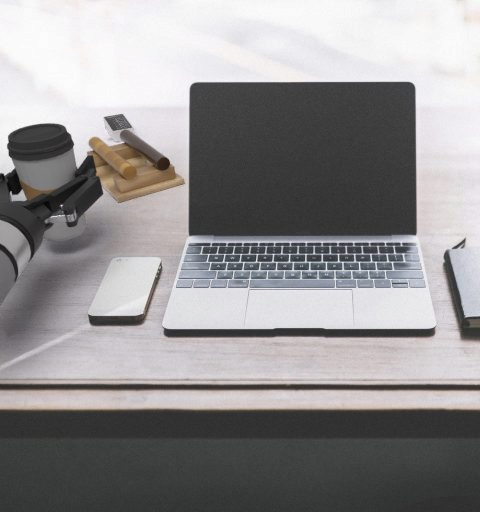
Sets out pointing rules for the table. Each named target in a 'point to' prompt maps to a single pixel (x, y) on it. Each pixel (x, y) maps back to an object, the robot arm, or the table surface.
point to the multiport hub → (117, 126)
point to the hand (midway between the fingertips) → (60, 165)
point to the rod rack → (132, 167)
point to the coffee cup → (45, 167)
